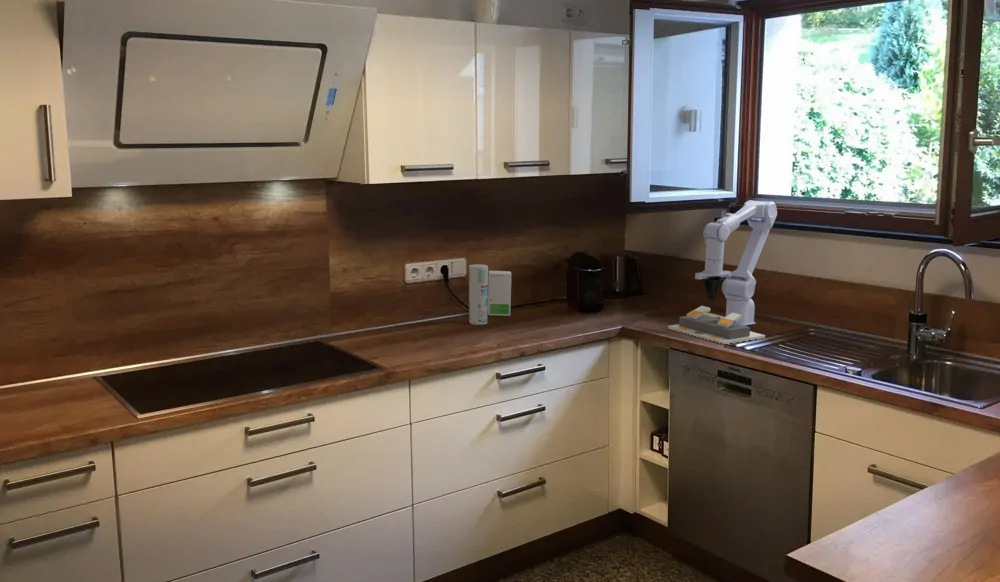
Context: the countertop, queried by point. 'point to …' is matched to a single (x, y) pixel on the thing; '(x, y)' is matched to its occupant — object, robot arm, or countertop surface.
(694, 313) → the rocker
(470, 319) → the spray can
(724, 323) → the block
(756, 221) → the robot arm
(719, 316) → the rocker
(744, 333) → the switch unit
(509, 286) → the skincare box
